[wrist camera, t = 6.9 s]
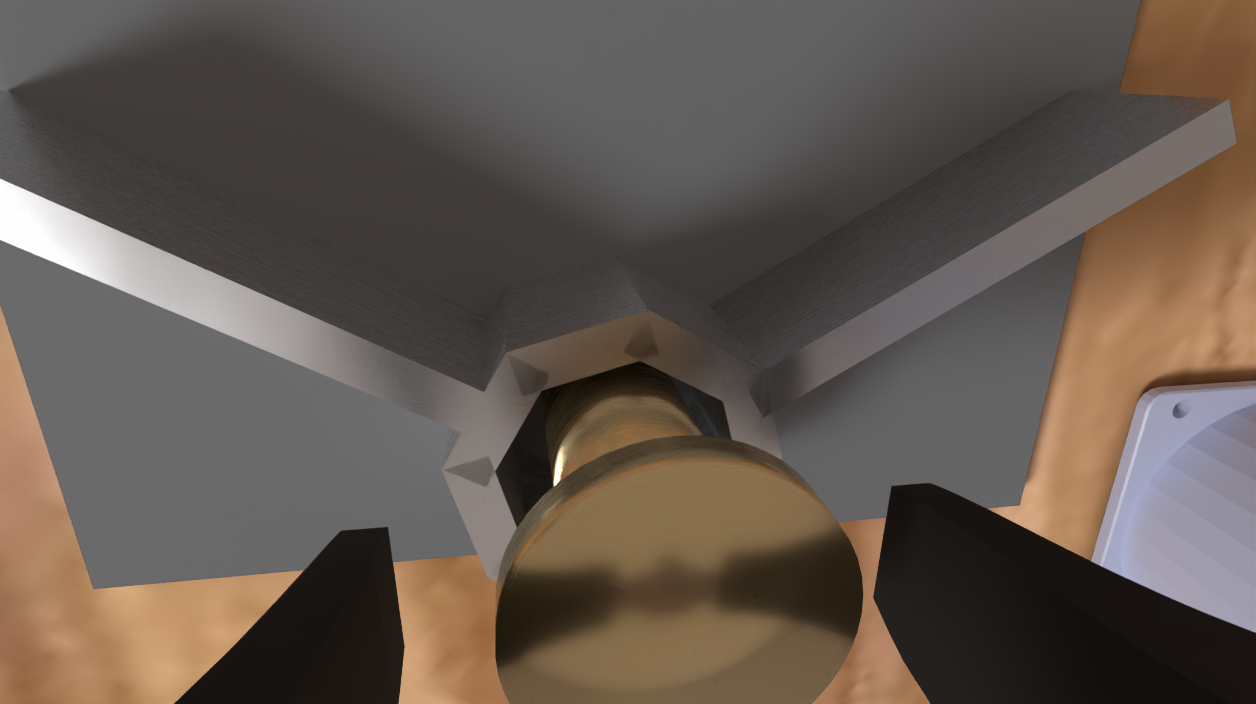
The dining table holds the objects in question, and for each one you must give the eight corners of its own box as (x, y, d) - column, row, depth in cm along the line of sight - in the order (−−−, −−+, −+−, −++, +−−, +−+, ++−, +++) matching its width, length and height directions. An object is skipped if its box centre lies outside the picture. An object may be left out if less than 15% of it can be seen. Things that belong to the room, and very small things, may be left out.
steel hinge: (1091, 108, 15) (1254, 121, 12) (753, 578, 18) (808, 691, 15) (222, -588, 10) (74, -926, 6) (-45, 255, 13) (-234, 321, 10)
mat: (1242, -539, 12) (1278, -569, 12) (1005, 493, 19) (1019, 505, 19) (-316, -769, 9) (-369, -824, 8) (107, 571, 16) (93, 589, 16)
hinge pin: (703, 269, 15) (887, 455, 8) (694, 453, 17) (840, 744, 10) (488, 277, 14) (482, 488, 7) (501, 468, 16) (505, 794, 9)
